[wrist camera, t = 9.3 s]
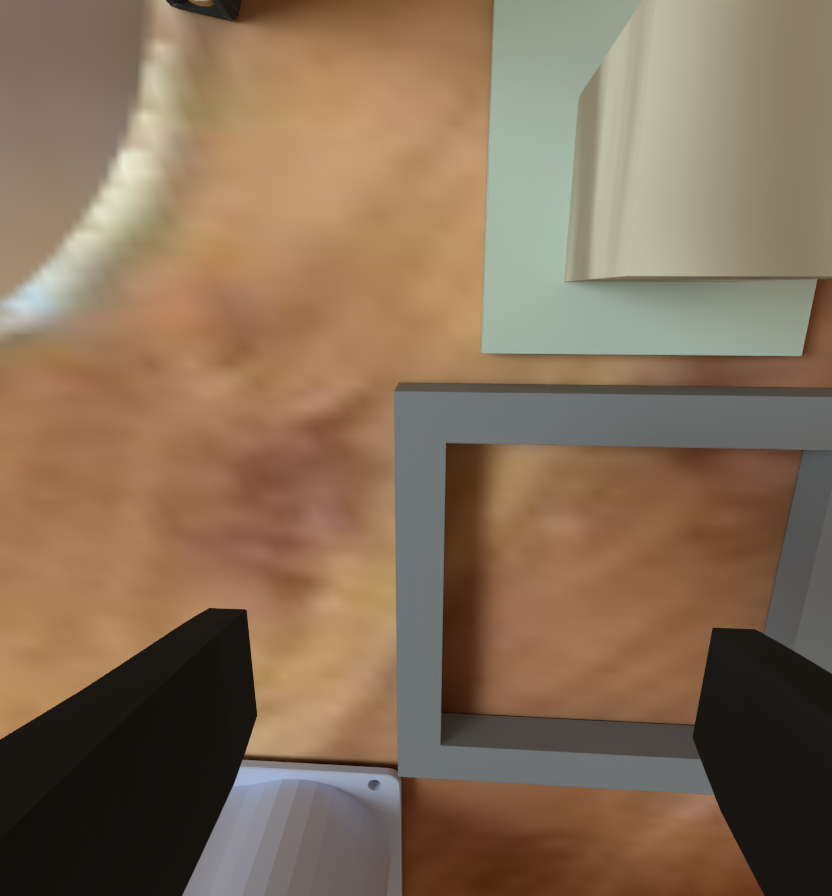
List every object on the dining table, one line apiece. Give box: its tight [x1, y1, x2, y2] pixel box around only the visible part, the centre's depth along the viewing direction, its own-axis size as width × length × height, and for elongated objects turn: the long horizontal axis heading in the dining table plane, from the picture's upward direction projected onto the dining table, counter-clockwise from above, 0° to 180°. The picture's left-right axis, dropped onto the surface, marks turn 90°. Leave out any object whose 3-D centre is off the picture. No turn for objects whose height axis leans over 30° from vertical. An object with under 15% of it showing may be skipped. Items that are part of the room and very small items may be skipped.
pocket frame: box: [394, 383, 832, 795], centre depth 17 cm, size 14×14×2 cm
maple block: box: [564, 0, 832, 282], centre depth 11 cm, size 4×4×6 cm
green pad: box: [481, 0, 817, 356], centre depth 14 cm, size 9×9×1 cm
